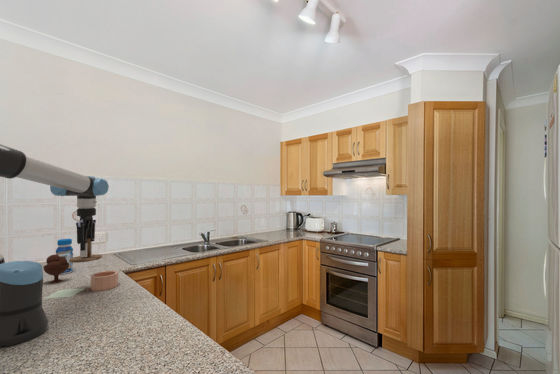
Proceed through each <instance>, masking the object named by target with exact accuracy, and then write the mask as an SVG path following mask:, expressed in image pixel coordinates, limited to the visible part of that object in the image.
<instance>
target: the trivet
mask: <svg viewBox="0 0 560 374" xmlns="http://www.w3.org/2000/svg"><path fill="white" fill-rule="evenodd" d="M85 289H86V288H69V289H68V288H67V289H59V290H57V291H55V292H53V293H51V294H49V295H48V296H46V297H44V298H43V299H45V300H46V299H58V298H59V299H60V298H72V297H74V296H75V295H77V294H79V293H80V292H82V291H83V290H85Z"/></svg>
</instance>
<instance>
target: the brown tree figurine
mask: <svg viewBox="0 0 560 374" xmlns="http://www.w3.org/2000/svg"><path fill="white" fill-rule="evenodd" d="M45 261H46V264H45V265H43V266H42V269H43V270H44V273H46V274H47V275H48V276H53V278H54V279H52V280H51V281H50V282H49V284H57V283H60V282H63V280H62V279H60V278H59V276H60V275H62V274H61V273H63V272H65V271H66V270H67V269H68V267H69V264H70V263H69V262H67V259H66V258H64V257H62V256H59V255H56V254H51V255H49V256H47V258H46V260H45Z"/></svg>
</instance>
